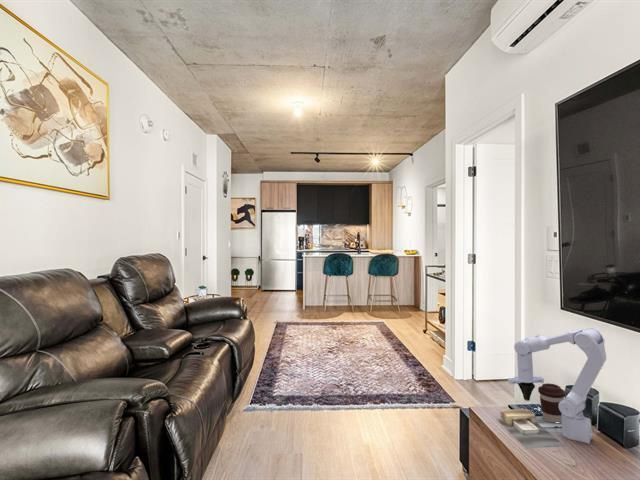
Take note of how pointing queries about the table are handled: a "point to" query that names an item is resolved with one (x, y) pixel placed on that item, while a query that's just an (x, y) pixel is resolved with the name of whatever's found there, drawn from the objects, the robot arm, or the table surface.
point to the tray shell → (525, 426)
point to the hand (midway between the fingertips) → (526, 399)
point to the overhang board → (527, 440)
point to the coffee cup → (551, 401)
